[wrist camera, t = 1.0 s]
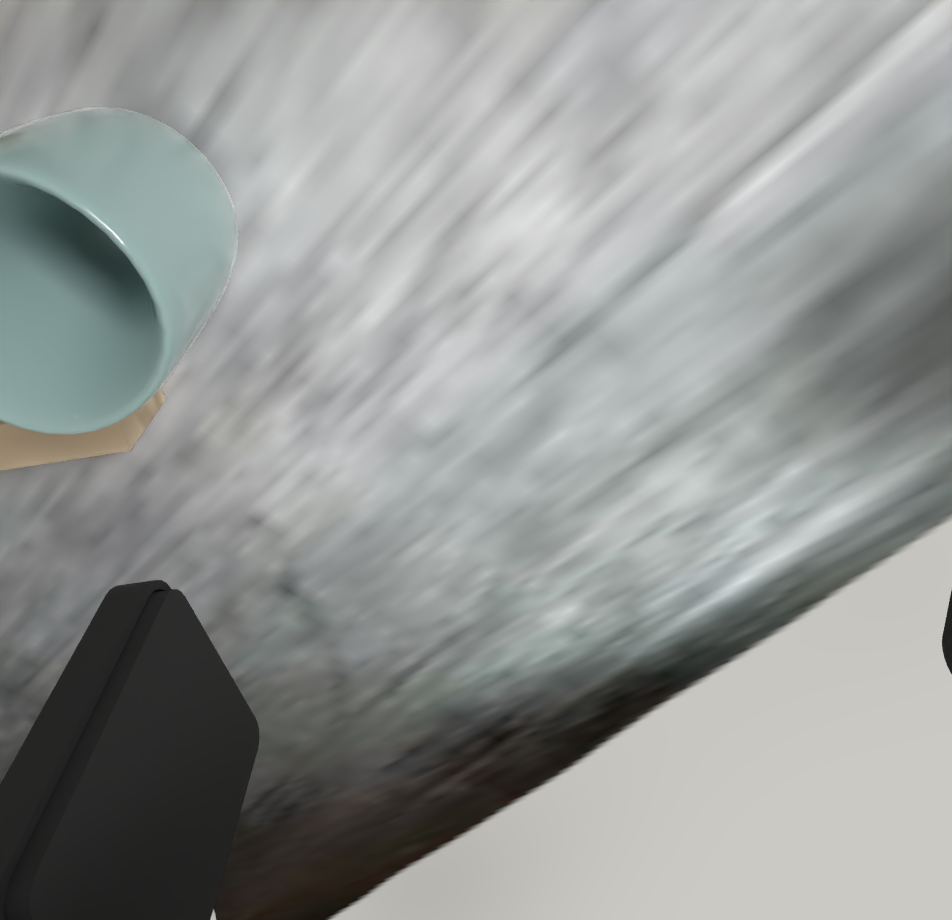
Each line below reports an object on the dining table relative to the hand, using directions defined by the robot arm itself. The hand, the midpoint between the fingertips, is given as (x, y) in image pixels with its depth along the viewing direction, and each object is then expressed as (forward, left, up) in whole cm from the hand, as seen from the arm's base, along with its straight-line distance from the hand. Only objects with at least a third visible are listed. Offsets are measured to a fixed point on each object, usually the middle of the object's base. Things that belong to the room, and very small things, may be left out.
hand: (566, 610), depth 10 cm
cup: (-1, -14, -23) cm, 26 cm away
